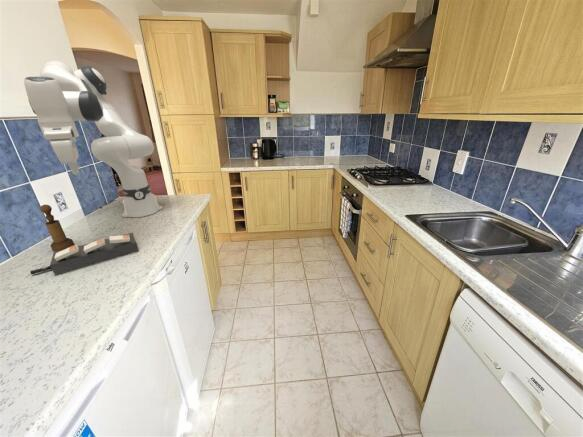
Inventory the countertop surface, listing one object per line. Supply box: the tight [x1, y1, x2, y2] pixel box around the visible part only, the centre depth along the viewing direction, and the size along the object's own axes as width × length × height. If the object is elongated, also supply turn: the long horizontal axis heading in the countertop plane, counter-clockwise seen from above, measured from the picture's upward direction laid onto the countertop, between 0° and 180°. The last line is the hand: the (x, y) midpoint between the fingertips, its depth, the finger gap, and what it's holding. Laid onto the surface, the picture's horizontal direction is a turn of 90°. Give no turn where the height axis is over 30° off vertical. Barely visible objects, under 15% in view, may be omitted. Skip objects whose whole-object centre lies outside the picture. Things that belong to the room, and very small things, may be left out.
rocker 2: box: [108, 234, 130, 243], centre depth 90 cm, size 4×6×1 cm, turn 127°
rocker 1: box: [54, 244, 79, 261], centre depth 81 cm, size 4×6×1 cm, turn 127°
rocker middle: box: [84, 237, 106, 253], centre depth 86 cm, size 4×6×1 cm, turn 127°
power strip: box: [29, 232, 139, 276], centre depth 87 cm, size 10×30×5 cm, turn 127°
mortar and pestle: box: [39, 204, 75, 253], centre depth 93 cm, size 7×6×18 cm
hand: (76, 173), depth 86 cm, fingers closed
